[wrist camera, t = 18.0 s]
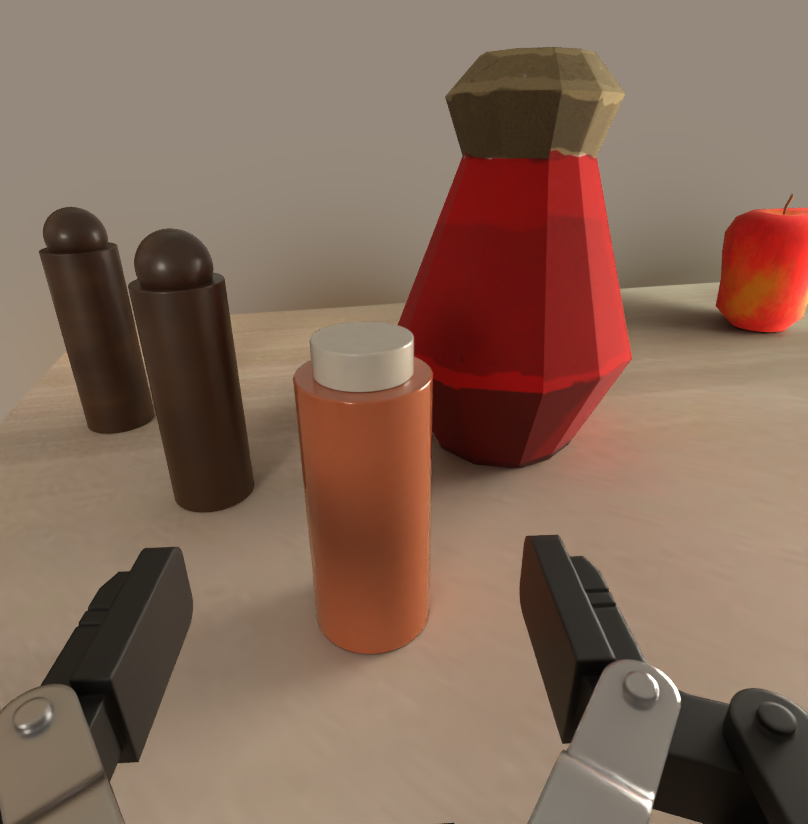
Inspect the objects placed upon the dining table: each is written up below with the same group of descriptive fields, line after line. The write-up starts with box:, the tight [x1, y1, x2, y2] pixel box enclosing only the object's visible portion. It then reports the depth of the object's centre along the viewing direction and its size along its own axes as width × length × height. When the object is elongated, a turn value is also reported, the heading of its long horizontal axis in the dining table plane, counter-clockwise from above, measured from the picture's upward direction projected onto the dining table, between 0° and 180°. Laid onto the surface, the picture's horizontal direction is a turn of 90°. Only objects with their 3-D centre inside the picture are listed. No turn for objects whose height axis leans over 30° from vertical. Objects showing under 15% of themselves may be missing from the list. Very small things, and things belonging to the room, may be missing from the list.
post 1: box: [39, 207, 154, 433], centre depth 35 cm, size 4×4×13 cm
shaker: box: [293, 321, 433, 654], centre depth 20 cm, size 4×4×11 cm
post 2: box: [128, 228, 254, 512], centre depth 27 cm, size 4×4×13 cm
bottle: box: [398, 47, 632, 468], centre depth 32 cm, size 16×14×20 cm
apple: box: [716, 194, 808, 332], centre depth 52 cm, size 9×8×12 cm
